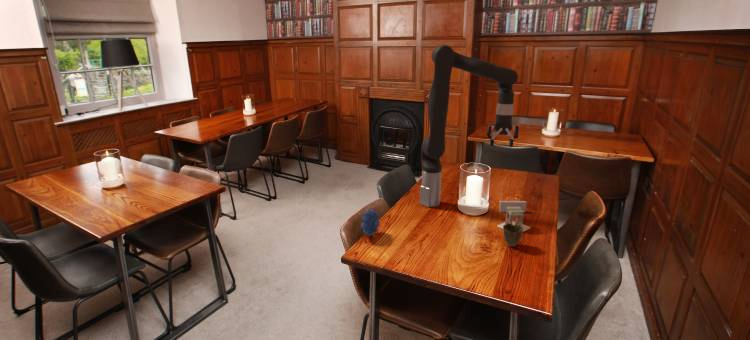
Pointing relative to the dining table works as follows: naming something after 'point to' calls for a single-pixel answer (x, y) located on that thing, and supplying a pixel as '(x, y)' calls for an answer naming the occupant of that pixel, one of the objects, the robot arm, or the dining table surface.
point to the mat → (514, 225)
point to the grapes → (370, 222)
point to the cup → (512, 234)
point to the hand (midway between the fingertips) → (501, 146)
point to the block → (512, 205)
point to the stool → (514, 211)
